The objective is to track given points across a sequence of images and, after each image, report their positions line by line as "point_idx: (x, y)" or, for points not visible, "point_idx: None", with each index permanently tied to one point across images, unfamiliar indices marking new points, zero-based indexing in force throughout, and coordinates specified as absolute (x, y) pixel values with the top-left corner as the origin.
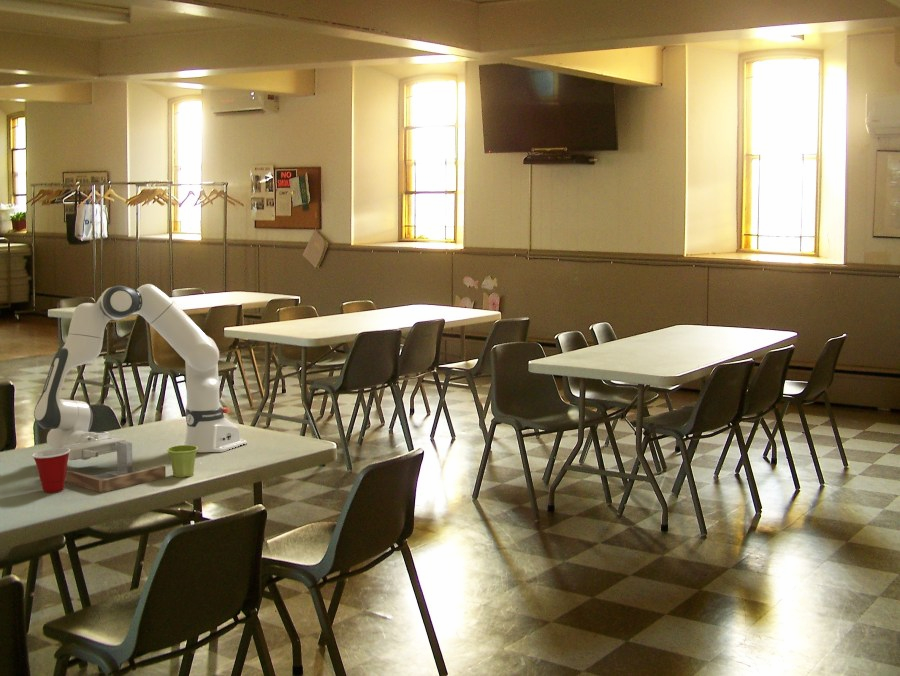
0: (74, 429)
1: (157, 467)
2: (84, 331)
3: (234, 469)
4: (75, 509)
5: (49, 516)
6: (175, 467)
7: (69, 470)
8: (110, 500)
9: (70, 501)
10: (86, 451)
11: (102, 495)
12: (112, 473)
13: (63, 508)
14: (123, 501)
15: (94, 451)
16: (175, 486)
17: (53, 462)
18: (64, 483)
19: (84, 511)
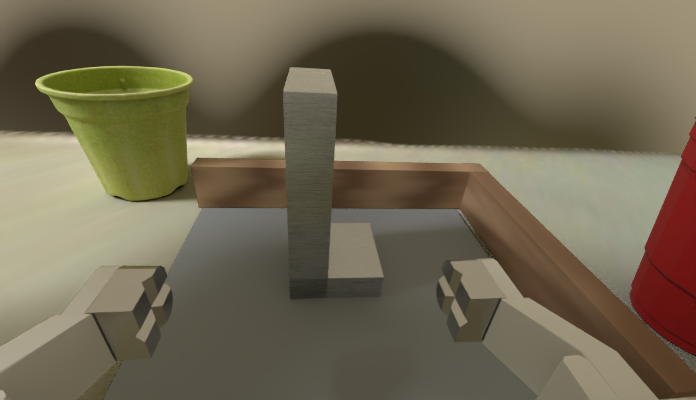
0: None
1: (227, 162)
2: None
3: (14, 148)
4: (555, 161)
5: (615, 161)
6: (185, 146)
7: (677, 386)
8: (464, 159)
9: (574, 196)
10: (579, 336)
11: None
12: (370, 267)
13: (588, 174)
14: (439, 146)
15: (484, 266)
16: (276, 147)
17: None
18: (639, 267)
19: (534, 149)
